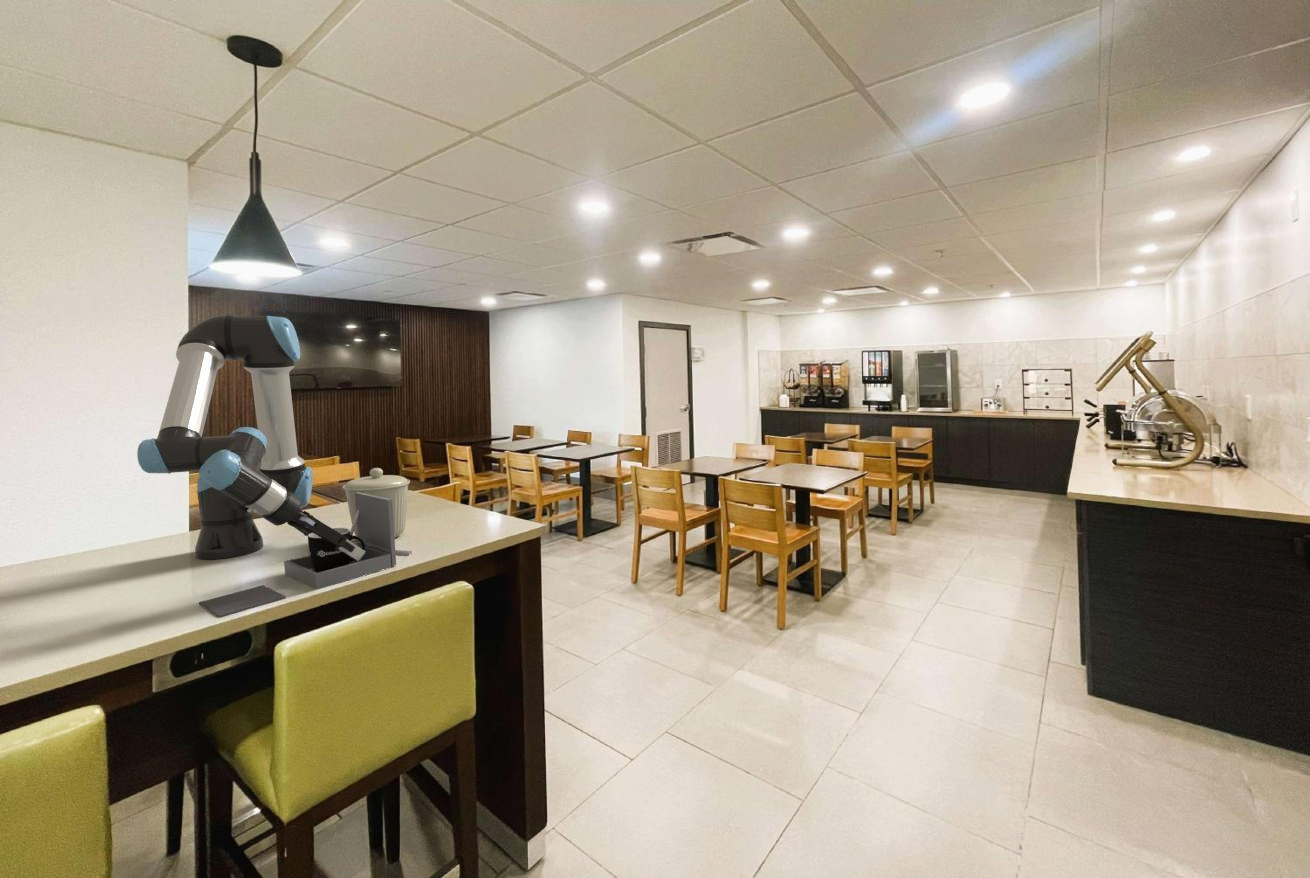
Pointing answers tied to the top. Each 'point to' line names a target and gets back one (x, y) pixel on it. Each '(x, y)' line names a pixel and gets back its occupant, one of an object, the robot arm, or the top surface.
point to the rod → (403, 552)
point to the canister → (381, 495)
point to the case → (376, 536)
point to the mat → (241, 600)
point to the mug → (329, 551)
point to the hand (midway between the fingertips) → (349, 552)
